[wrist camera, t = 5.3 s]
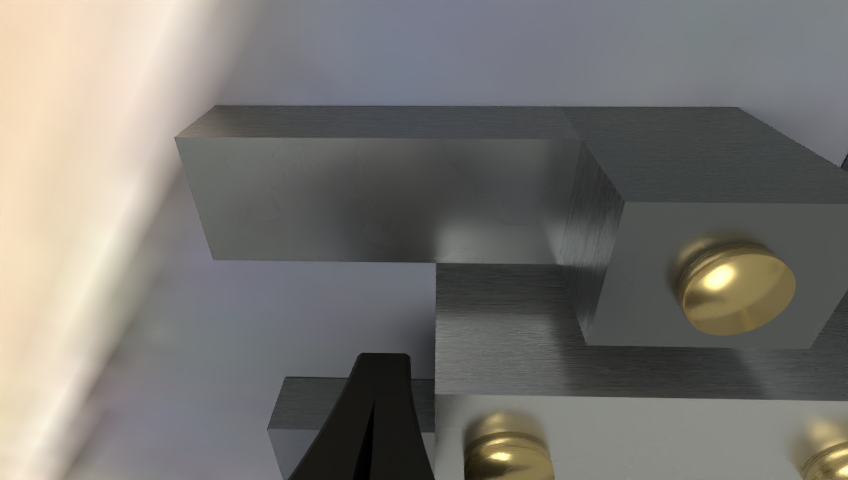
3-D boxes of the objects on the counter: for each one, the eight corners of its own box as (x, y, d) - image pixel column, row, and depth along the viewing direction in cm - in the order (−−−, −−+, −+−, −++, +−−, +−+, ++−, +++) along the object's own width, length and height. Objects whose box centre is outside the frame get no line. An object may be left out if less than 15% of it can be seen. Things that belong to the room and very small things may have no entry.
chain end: (615, 437, 17) (668, 591, 13) (298, 430, 18) (256, 578, 14) (737, 107, 10) (927, 218, 6) (214, 105, 11) (78, 210, 7)
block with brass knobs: (751, 350, 15) (891, 539, 10) (436, 346, 15) (434, 527, 10) (807, 246, 12) (1019, 428, 8) (436, 243, 13) (434, 417, 8)
